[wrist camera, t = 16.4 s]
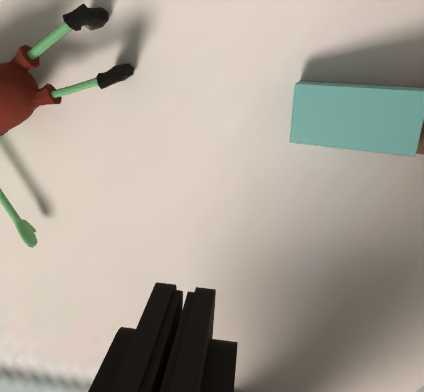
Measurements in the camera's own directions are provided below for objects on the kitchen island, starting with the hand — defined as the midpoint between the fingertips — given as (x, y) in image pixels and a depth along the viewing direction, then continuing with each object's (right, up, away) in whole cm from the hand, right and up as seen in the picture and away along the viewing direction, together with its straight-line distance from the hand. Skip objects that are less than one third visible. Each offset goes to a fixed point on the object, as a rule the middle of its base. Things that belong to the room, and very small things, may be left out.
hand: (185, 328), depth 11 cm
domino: (+8, +11, +23) cm, 27 cm away
